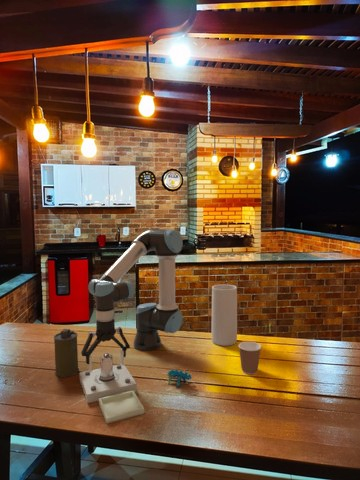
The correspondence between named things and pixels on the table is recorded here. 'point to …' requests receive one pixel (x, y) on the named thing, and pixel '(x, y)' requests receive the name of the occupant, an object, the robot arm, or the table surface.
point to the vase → (224, 314)
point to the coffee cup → (249, 356)
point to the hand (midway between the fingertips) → (106, 367)
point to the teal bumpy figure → (178, 376)
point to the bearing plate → (106, 383)
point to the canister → (66, 353)
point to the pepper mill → (106, 368)
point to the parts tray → (120, 406)
